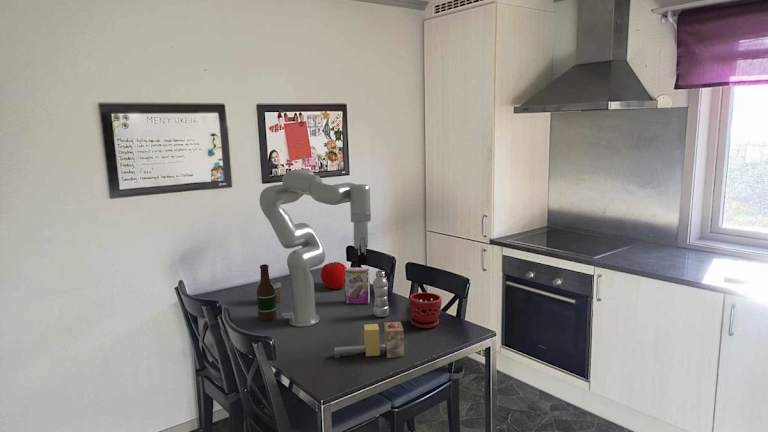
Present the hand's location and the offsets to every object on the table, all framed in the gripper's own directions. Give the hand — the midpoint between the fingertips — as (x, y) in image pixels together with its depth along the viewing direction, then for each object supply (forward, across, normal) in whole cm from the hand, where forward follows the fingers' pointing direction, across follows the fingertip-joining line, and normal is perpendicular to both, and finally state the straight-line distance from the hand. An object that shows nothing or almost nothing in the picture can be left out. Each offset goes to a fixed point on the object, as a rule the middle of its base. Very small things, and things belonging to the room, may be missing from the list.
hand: (362, 264), depth 193 cm
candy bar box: (+29, -39, 0) cm, 49 cm away
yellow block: (+29, +16, +2) cm, 33 cm away
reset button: (+23, +16, +9) cm, 29 cm away
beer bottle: (+29, -26, -40) cm, 56 cm away
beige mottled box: (+29, +16, +10) cm, 35 cm away
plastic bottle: (+29, -20, +9) cm, 37 cm away
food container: (+29, -46, -42) cm, 69 cm away
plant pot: (+29, -8, +26) cm, 40 cm away
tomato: (+29, -64, -10) cm, 71 cm away
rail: (+29, +16, -2) cm, 33 cm away
